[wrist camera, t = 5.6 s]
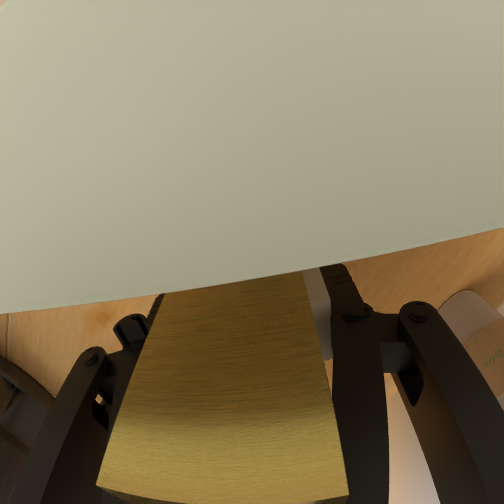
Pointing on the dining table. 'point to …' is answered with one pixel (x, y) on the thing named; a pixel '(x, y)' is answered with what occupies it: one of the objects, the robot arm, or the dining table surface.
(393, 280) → the dining table surface
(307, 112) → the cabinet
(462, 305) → the coffee cup
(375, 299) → the dining table surface
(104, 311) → the dining table surface
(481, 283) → the dining table surface
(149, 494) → the blade tool
